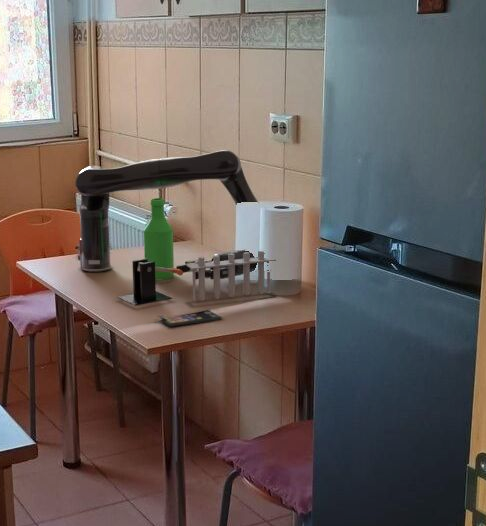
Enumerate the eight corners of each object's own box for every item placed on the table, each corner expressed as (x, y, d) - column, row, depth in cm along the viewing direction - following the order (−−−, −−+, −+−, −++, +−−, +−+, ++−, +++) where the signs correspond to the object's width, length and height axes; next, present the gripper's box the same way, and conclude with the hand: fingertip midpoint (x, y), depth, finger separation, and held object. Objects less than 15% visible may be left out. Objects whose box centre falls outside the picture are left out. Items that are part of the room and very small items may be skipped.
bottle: (171, 283, 279) (169, 201, 273) (143, 283, 281) (140, 201, 275) (175, 276, 288) (173, 196, 281) (147, 275, 289) (145, 196, 283)
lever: (172, 273, 267) (174, 265, 267) (182, 277, 263) (183, 268, 263) (134, 269, 260) (135, 261, 260) (143, 273, 256) (145, 264, 256)
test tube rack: (192, 307, 255) (191, 260, 251) (187, 302, 259) (186, 256, 256) (276, 297, 260) (276, 251, 257) (270, 293, 265) (270, 248, 261)
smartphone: (221, 319, 243) (221, 315, 242) (169, 328, 237) (169, 323, 237) (206, 311, 250) (206, 307, 250) (156, 320, 244) (156, 315, 244)
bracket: (153, 294, 268) (152, 254, 266) (172, 302, 260) (171, 261, 257) (117, 301, 263) (116, 261, 260) (135, 309, 254) (134, 268, 251)
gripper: (216, 247, 279) (171, 255, 271) (245, 256, 266) (198, 264, 259) (217, 271, 280) (171, 280, 273) (245, 281, 268) (199, 290, 261)
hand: (185, 272), depth 266 cm, fingers open, 8 cm apart
